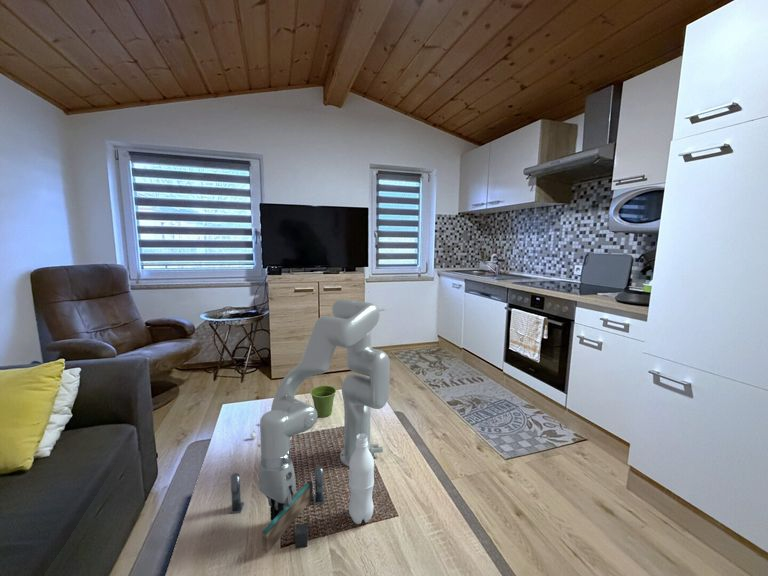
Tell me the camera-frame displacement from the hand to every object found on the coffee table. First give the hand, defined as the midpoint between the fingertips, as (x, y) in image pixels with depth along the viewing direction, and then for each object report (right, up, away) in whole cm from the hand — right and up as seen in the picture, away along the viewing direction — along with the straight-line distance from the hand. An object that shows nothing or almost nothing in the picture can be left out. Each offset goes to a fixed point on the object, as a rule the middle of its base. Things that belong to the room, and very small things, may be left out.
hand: (277, 517), depth 91 cm
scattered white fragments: (-15, +3, +45) cm, 47 cm away
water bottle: (+23, -2, +4) cm, 24 cm away
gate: (+4, -1, 0) cm, 4 cm away
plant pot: (+2, +5, +60) cm, 61 cm away
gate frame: (-1, -2, +1) cm, 2 cm away
